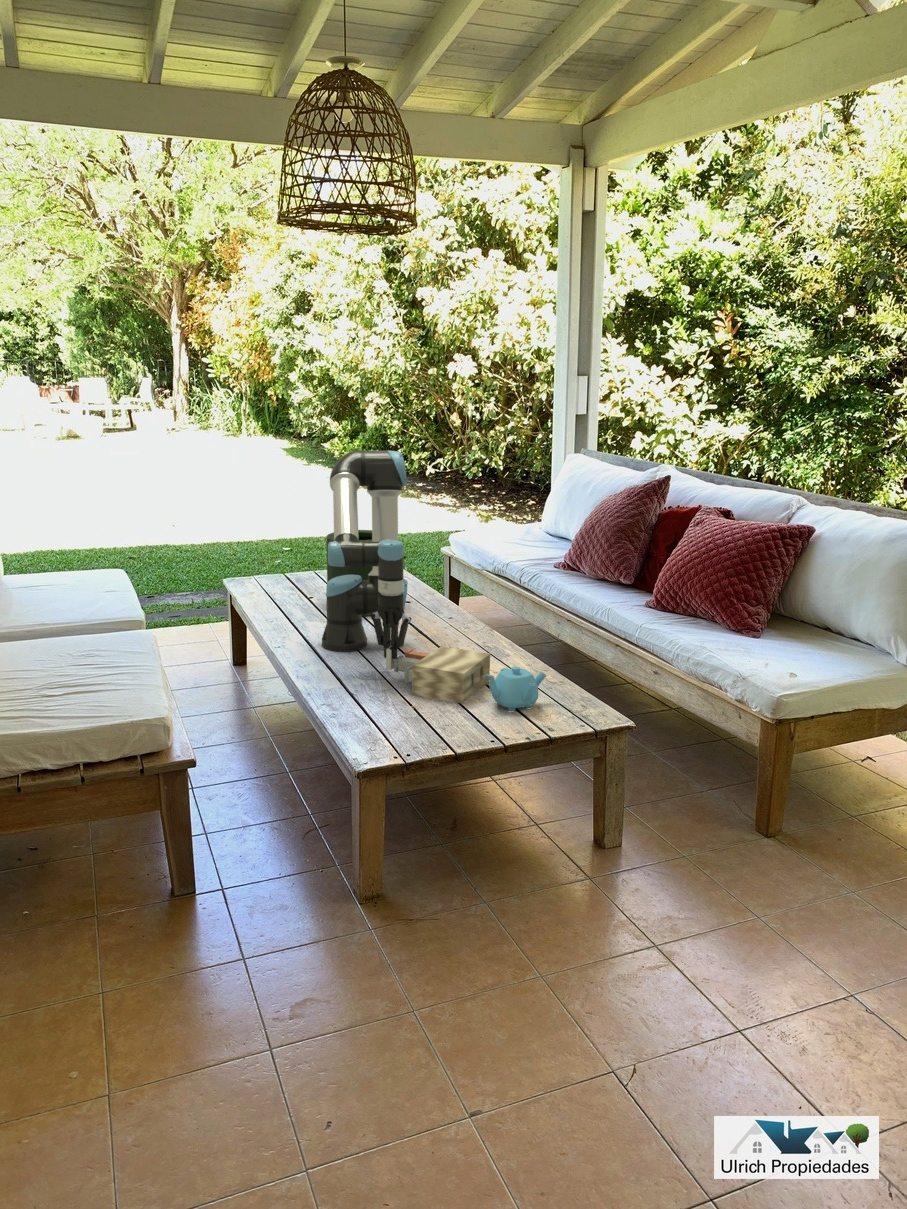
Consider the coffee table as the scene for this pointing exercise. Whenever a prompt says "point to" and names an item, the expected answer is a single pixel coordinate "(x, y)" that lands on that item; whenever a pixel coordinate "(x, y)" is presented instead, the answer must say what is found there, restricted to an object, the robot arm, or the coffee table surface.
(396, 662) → the grey plug middle
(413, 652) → the terracotta plug
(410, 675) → the grey plug near
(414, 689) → the socket block
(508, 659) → the coffee table surface
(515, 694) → the teapot
